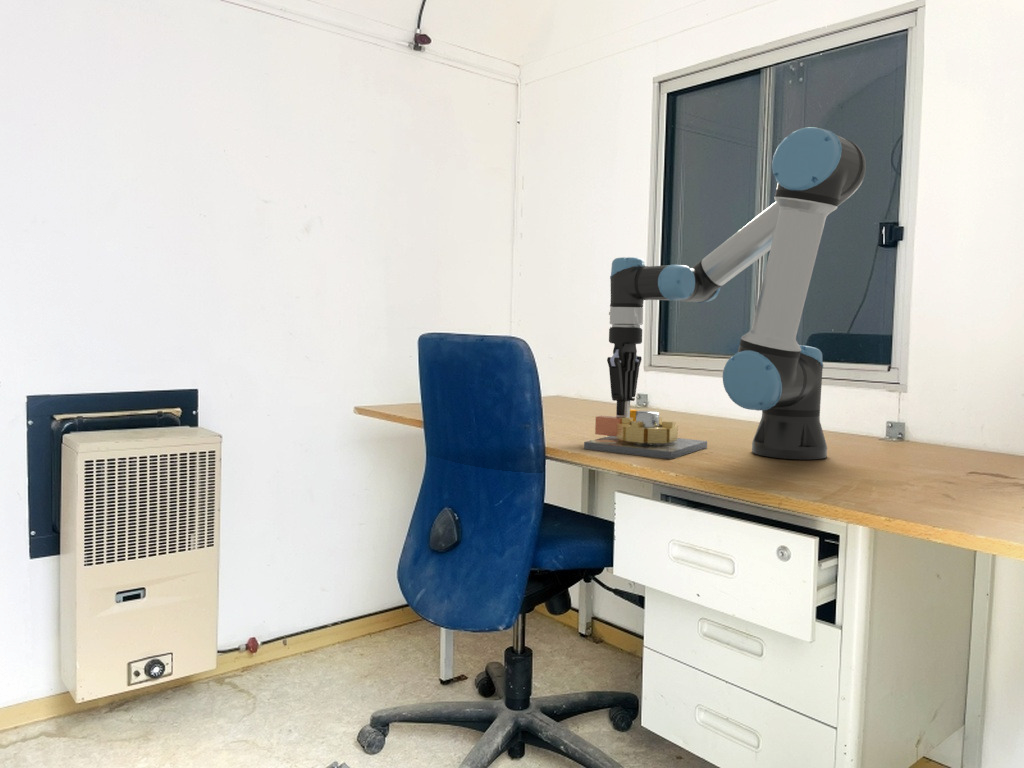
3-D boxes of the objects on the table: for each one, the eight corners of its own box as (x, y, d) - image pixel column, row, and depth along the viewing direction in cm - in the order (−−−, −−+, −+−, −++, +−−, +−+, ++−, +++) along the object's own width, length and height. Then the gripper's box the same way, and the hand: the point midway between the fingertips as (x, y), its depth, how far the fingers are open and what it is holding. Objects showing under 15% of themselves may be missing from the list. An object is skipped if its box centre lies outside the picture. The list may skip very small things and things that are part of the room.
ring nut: (684, 438, 178) (685, 419, 177) (661, 444, 167) (662, 424, 167) (610, 430, 188) (611, 413, 187) (584, 436, 178) (585, 417, 177)
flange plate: (707, 447, 179) (708, 412, 178) (670, 459, 162) (672, 419, 162) (625, 438, 190) (626, 405, 189) (584, 448, 173) (585, 411, 173)
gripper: (624, 326, 191) (620, 425, 193) (597, 325, 180) (594, 430, 182) (653, 326, 187) (649, 428, 188) (627, 326, 176) (624, 433, 178)
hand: (622, 429), depth 185 cm, fingers closed
